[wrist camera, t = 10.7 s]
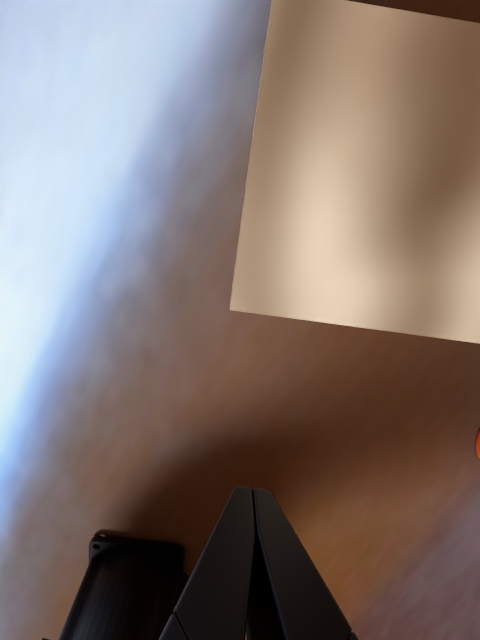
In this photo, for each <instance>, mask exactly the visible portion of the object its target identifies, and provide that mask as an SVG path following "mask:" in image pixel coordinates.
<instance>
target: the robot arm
mask: <svg viewBox="0 0 480 640" xmlns="http://www.w3.org/2000/svg"><path fill="white" fill-rule="evenodd" d="M184 557H185V548H184V547H183V546H181V545H176V544H167V543H157V542H148V541H139V540H130V539H120V538H111V537H102V536H95V537H93V538H92V539H91V542H90V544H89V566H88V568H87V571H86V573H85V576H84V578H83V581H82V583H81V586H80V588H79V591H78V593H77V596H76V598H75V601H74V603H73V605H72V608H71V610H70V613H69V615H68V618H67V620H66V623H65V625H64V628H63V630H62V633H61V635H60V638H59V640H245V635H246V636H247V640H358V638H357V636H356V635H355V633H354V632H352V633H351V631H352V628H351V626H350V625H349V623H348V621H347V620H346V618H345V616H344V615H343V613H342V611H341V609H340V608H339V606H338V604H337V603H336V601H335V599H334V598H333V596H332V594H331V592H330V591H329V589H328V587H327V586H326V584H325V582H324V581H323V579H322V577H321V575H320V574H319V572H318V570H317V569H316V567H315V565H314V564H313V562H312V560H311V559H310V557H309V555H308V553H307V552H306V550H305V548H304V547H303V545H302V543H301V542H300V540H299V538H298V536H297V535H296V533H295V531H294V530H293V528H292V526H291V525H290V523H289V521H288V519H287V518H286V516H285V514H284V513H283V511H282V509H281V508H280V506H279V504H278V503H277V501H276V499H275V497H274V496H273V494H272V492H271V491H270V490H269V489H265V488H253V489H252V488H251V487H247V486H238V485H237V486H235V487H234V489H233V491H232V493H231V495H230V497H229V499H228V501H227V503H226V505H225V507H224V509H223V511H222V513H221V515H220V517H219V519H218V521H217V523H216V525H215V527H214V529H213V531H212V533H211V535H210V538H209V540H208V542H207V544H206V546H205V548H204V550H203V552H202V554H201V556H200V558H199V560H198V562H197V564H196V566H195V568H194V570H193V572H192V574H191V576H190V578H189V580H188V577H189V576H188V574H187V573H186V572H183V565H184ZM42 640H49V639H45V638H43V639H42Z"/></svg>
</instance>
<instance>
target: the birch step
mask: <svg viewBox="0 0 480 640" xmlns="http://www.w3.org/2000/svg"><path fill="white" fill-rule="evenodd" d="M230 310H234V311H242V312H249V313H256V314H264V315H271V316H279V317H286V318H294V319H301V320H308V321H316V322H323V323H331V324H338V325H346V326H353V327H360V328H368V329H375V330H383V331H390V332H398V333H405V334H412V335H420V336H427V337H435V338H442V339H450V340H457V341H464V342H472V343H479V344H480V23H476V22H470V21H464V20H458V19H452V18H446V17H440V16H435V15H429V14H423V13H417V12H411V11H405V10H399V9H394V8H388V7H382V6H376V5H370V4H364V3H358V2H353V1H347V0H272V2H271V8H270V15H269V21H268V27H267V34H266V41H265V48H264V56H263V63H262V70H261V78H260V85H259V92H258V100H257V107H256V114H255V122H254V129H253V136H252V144H251V151H250V159H249V166H248V173H247V181H246V188H245V195H244V203H243V210H242V217H241V225H240V232H239V239H238V247H237V254H236V261H235V269H234V276H233V283H232V292H231V301H230Z"/></svg>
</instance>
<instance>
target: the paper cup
mask: <svg viewBox="0 0 480 640" xmlns="http://www.w3.org/2000/svg"><path fill="white" fill-rule="evenodd" d="M475 449H476V453H477V455H478V457H479V459H480V429H479V431H478V433H477V436H476V441H475Z"/></svg>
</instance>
